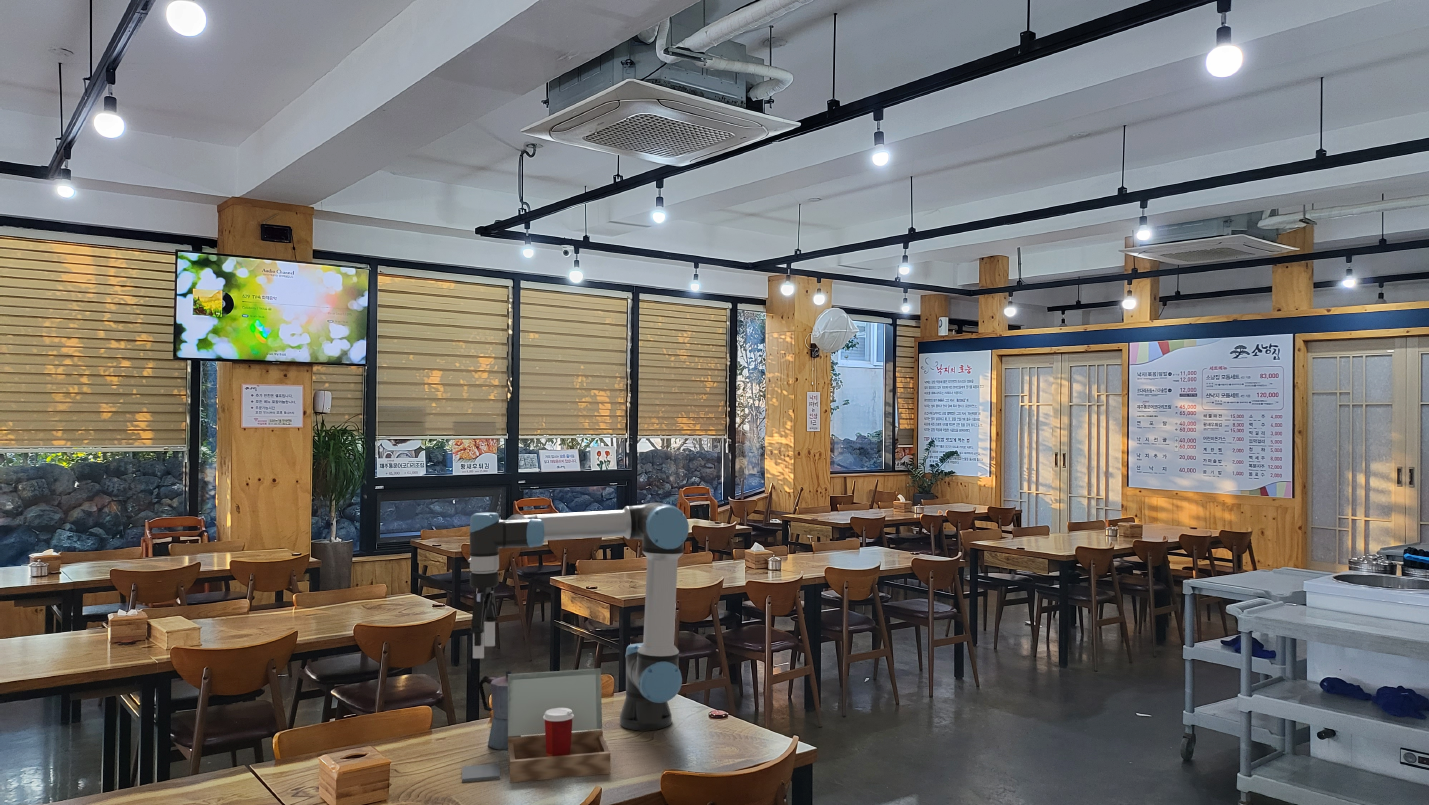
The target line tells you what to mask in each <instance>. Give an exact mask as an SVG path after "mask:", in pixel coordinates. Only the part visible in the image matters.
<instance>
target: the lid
mask: <svg viewBox="0 0 1429 805" xmlns="http://www.w3.org/2000/svg"><path fill="white" fill-rule="evenodd" d="M601 673H602V668H588V669H585V668H584V669H573V670H559V671H557V670H556V671H543V672H542V671H540V672H527V673H526V672H524V673H511V674H508V736H520V735H521V736H534V735H545V719H544V718H543V716H544V715H545V712H546V711H547V710H549V709H553V708H568V709H571V710H572V713H573V715H574V717H573V719H572V732H583V731H595V730H602V729H603V714H602V713H603V712H602V711H603V710H602V709H603V707H602V706H603V704H602V674H601Z"/></svg>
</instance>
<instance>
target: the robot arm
mask: <svg viewBox="0 0 1429 805" xmlns="http://www.w3.org/2000/svg"><path fill="white" fill-rule="evenodd" d="M469 521H470V522H469V558H468V559H467V562H468V563H469V571H471V572H470V573H469V586H470V587H471V588H473V589H475V588H476V589H477V590H476V592H477V593H473V606H472V616H471V624H470V629H469V634H472V659H485V647H495V646H496V622H498V621H499V617H498V614H497V607H496V606H497V605H496V596H495V588H496V587H497V586H498V585H499V584H500V583H499V582H500V575H499V574H500V572H499V571H498V570H499V569H500V552H499V551H500V549H508V548H513V549H514V548H534V547H535V548H536V547H542V546H543V544H544V542H545V541H557V540H558V541H560V540H561V541H562V540H576V539H577V540H578V539H591V538H592V539H594V538H609V537H624V538H625V539H627V540H642V548H641V549H642V551H641V552H642V554H643V555H644V556H645V557H646V574H645V575H646V580H645V601H644V602H645V603H644V618H643V619H644V622H643V623H644V624H643V638H642V639H643V641H642V642H639V643H638V642H637V643H632V644H628V646H627V647H626V649H625V650H626V651H625V656H624V657H625V698H624V701H623V702H624V703H623V705H622V707H621V712H620V715H619V725H620V726H621V727H622V728H624V729H627V730H632V731H644V732H645V731H656V730H660V729H661V730H662V729H664V728H666V727H669V726H671V724H672V722H673V721H672V720H673V719H672V718H673V717H672V716H673V715H672V712H671V708H670V706H669V701H671V700H673V698H675V697H676V696H677V695H678V694H679V692H680V690H681V688H682V683H683V678H682V676H683V675H682V673H681V670H680V669H679V659H680V657H679V654H680V650H679V649H678V648H677V646H676V645H675V644H674V643H675V628H676V626H675V624H676V623H675V621H676V606H677V605H676V603H677V602H676V601H677V583H678V582H677V580H678V563H679V562H678V561H679V558H680V557H681V556H683V554H684V548H685V541H686V540H687V538H688V535H689V531H690V525H689V521H688V519H687V516H686V515H685V514H684V512H683V511H682V510H681V509H679V508H678V507H677V506H675V505H673V504H668V503H663V502H650V503H645V504H637V505H626V506H624V508H623V509H614V510H598V511H595V510H594V511H577V512H560V513H542V514H541V513H540V514H525V515H524V514H517V513H516V514H512V515H510V517H508V518H507V519H500V515H499V514H498V513H497V512H477V513H472V514H471V516H470V520H469Z"/></svg>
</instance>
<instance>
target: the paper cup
mask: <svg viewBox="0 0 1429 805" xmlns="http://www.w3.org/2000/svg"><path fill="white" fill-rule="evenodd" d="M573 717H574V715H573V713H572V710H571V709H568V708H553V709H549V710H547V711H546V712H545V715H544V716H543V718H544V719H545V734H544V735H545V737H546V756H547V757H552V756H563V755H570V753H571V736H572V732H573V731H572V719H573Z"/></svg>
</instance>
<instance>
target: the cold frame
mask: <svg viewBox="0 0 1429 805" xmlns="http://www.w3.org/2000/svg"><path fill="white" fill-rule="evenodd" d="M603 732H604V731H603V730H602V729H595V730H583V731H572V736H571V753H570V755H563V756H552V757H547V756H546V737H545V734H534V735H521V737H510V738H508V749H507V767H508V775H509V776H508V777H509V783H510V784H512V783H521V782H532V781H543V780H552V779H553V780H554V779H563V778H564V779H565V778H574V777H576V778H577V777H586V776H596V775H606V774H607V775H609V774H611V752H610V749H609V745H608V744H607V741H606V740H605V737H604V734H603Z"/></svg>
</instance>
